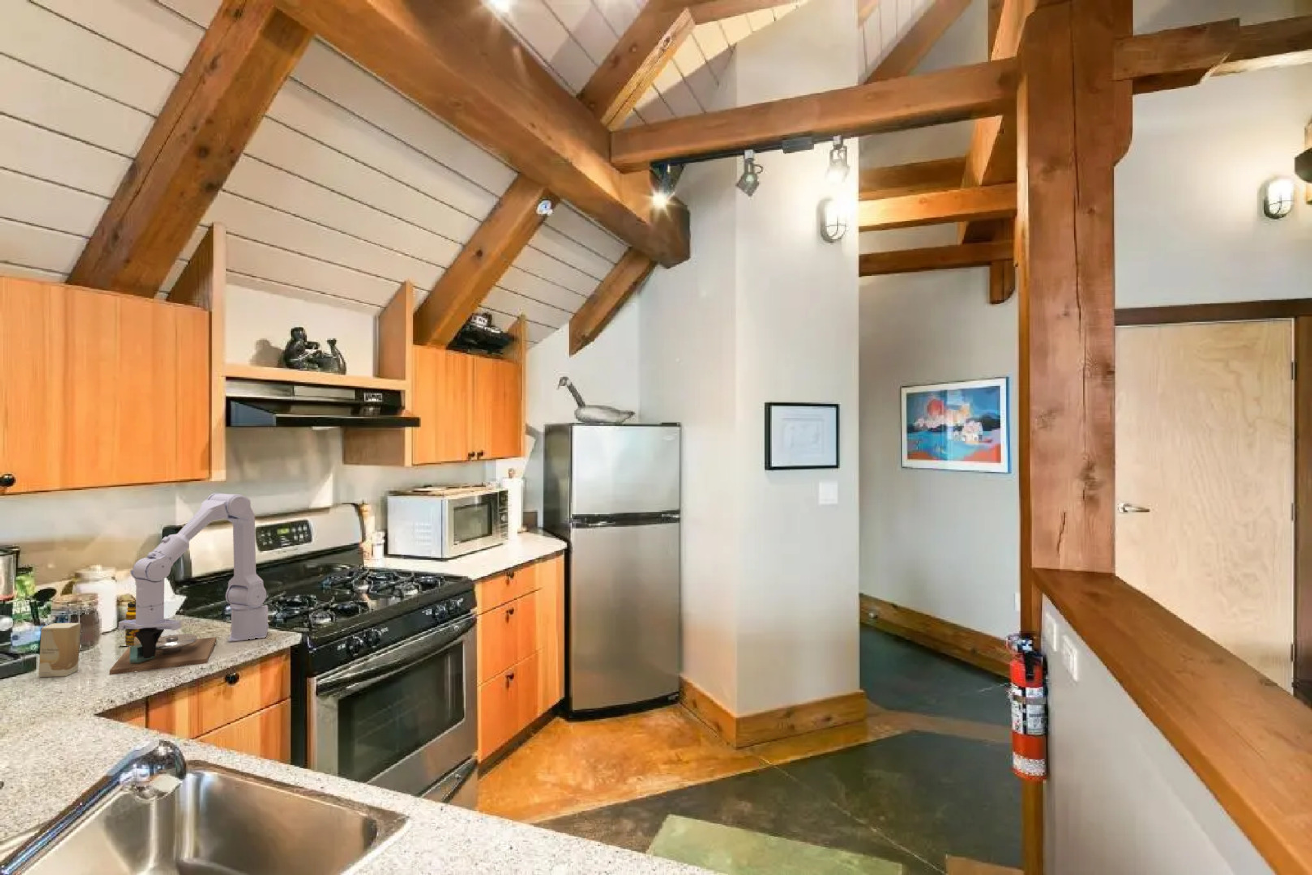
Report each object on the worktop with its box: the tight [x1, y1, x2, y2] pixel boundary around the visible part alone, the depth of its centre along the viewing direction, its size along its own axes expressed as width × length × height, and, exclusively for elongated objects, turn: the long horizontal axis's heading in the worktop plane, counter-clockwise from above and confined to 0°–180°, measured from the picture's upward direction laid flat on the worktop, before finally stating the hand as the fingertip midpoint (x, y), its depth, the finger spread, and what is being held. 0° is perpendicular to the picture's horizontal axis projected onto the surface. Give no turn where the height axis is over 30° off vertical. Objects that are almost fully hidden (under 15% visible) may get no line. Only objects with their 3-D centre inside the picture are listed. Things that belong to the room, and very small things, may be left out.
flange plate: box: [130, 633, 198, 663], centre depth 171 cm, size 16×11×4 cm
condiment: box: [124, 600, 162, 646], centre depth 184 cm, size 7×8×12 cm
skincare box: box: [38, 622, 82, 678], centre depth 159 cm, size 6×4×12 cm
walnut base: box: [109, 636, 218, 676], centre depth 172 cm, size 20×20×6 cm
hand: (149, 656), depth 165 cm, fingers closed
